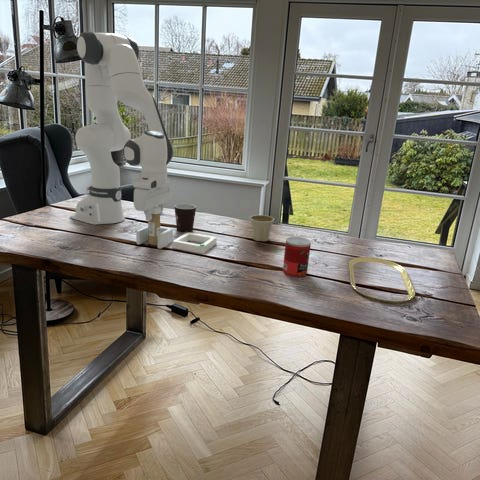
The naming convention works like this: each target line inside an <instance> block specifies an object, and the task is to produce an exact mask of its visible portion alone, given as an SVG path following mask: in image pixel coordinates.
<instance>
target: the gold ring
mask: <svg viewBox="0 0 480 480" xmlns="http://www.w3.org/2000/svg"><path fill="white" fill-rule="evenodd" d="M363 262H365V263H366V262H367V263H368V262H369V263H370V262H371V263H377V264H378V263H379V264H383V265H387V266H389V267H391V268H393V269H395V270H397V271H398V272H399V273H400V276H401V278H402V281H403V283H404V285H405V288H406V291H407V294H408V297H407V298H406V299H401V300H398V299H396V300H395V299H394V300H392V299H384V298H379V297H376V296H372V295H370V294H369V295H368V294H366V293H364V292H362V291H360V290H359V289H358V288H357V286H356V281H355V280H356V279H355V272H354V271H355V270H354V266H355V264H357V263H363ZM348 267H349V268H348V269H349V278H350V279H349V280H350V285H351V287H352V288H353V290H355V292H356V293H358V294H359V295H362V296H363V297H365V298H367V299H369V300H374V301H378V302H381V303H387V304H401V303H406V302H409V301H411V300H412V299H413V298H414V297H415V295H416V291H415V289H414V286H413V284H412V282H411V280H410V278H409V275H408V273H407V271H406V269H405V267H403V265H402V266H401V265H400V264H398V263H396V262H393V261H391V260H387V259H384V258H378V257H371V256H370V257H369V256H361V257H360V256H359V257H355V258H352V259H350V260H349V262H348Z"/></svg>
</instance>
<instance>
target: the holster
mask: <svg viewBox="0 0 480 480" xmlns="http://www.w3.org/2000/svg"><path fill="white" fill-rule="evenodd" d="M173 231H174V228H171V227H170V228H169V227H164V226H160V234H158V244H157V249H163V248H164V247H166V246H168V245H170V244H171V243H173V241H174V240H173V237H174V232H173ZM135 234H136V237H135V238H136V245H142V244H144V243H146V242H148V241H149V238H148V236H149V235H148V225H145V226H144V227H141V228H139V229H138V230H136V232H135Z"/></svg>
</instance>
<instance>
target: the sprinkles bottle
mask: <svg viewBox="0 0 480 480" xmlns="http://www.w3.org/2000/svg"><path fill="white" fill-rule="evenodd" d="M150 213H151V215H152V220H150V221H148V220H147V226H148V235H149V236H148V238H149V240H147V242H148V244H149V245H150V246H151V245H154V246H158V234H160V227H161V216H160V213H161V208H160V207H158V206H156V207H153V208H151V211H150Z"/></svg>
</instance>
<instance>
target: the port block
mask: <svg viewBox="0 0 480 480" xmlns="http://www.w3.org/2000/svg"><path fill="white" fill-rule="evenodd" d="M188 241H192V242H188ZM217 241H218V239H217V237H216V236H211V235H205V234H199V233H194V232H187V233H183V234H182V235H180V236H179V237H177V238H176V239H174V240H173V242H171V243H172V245H171V246H172V249H179V250H182V251H188V252H193V253H199V254H204V253H206V252H207V251H209V250H210V249H211V248H212V247H214V246H215V245H217ZM193 242H198V243H200V244H198V243H193Z"/></svg>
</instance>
